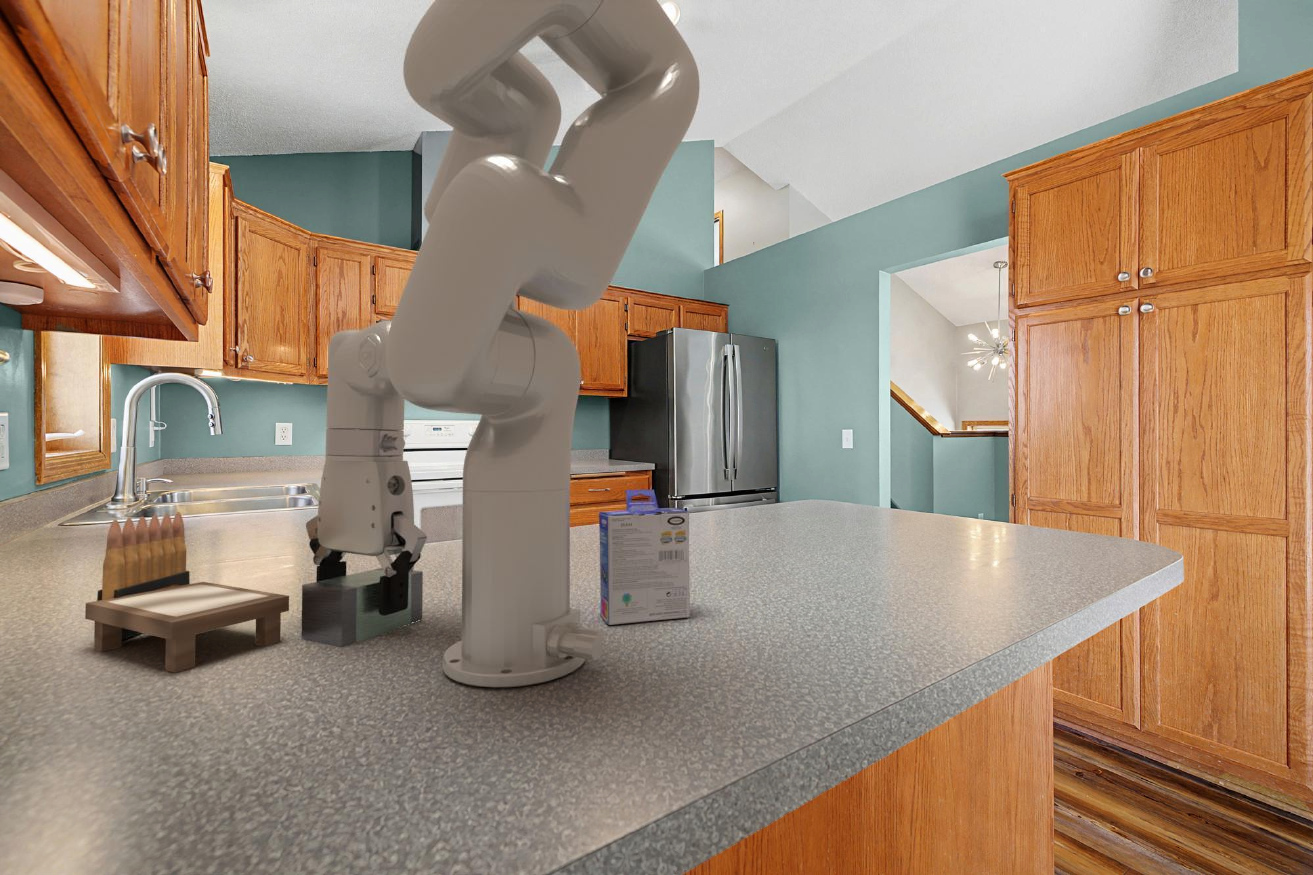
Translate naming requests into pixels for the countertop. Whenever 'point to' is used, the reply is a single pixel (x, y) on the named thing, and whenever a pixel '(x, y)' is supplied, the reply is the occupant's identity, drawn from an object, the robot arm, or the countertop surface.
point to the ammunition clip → (144, 559)
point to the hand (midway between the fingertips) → (361, 605)
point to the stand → (186, 617)
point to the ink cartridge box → (644, 562)
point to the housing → (354, 608)
